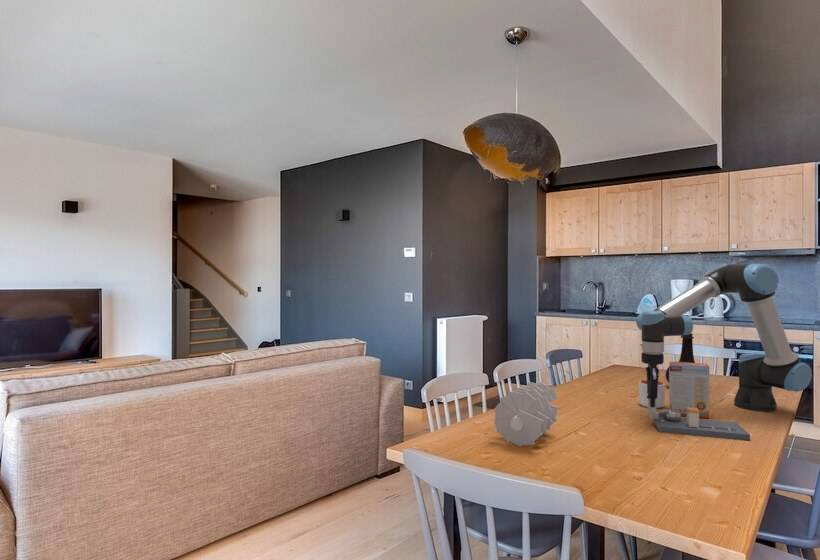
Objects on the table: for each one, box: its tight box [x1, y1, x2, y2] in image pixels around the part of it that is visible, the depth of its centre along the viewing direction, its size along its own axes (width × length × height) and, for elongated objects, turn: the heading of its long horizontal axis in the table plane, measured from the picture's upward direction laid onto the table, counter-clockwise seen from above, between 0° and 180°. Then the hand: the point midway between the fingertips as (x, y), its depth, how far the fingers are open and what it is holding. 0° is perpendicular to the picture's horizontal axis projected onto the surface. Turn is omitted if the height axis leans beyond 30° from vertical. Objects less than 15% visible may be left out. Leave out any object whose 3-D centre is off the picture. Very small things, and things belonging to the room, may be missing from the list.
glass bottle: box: [665, 332, 696, 384], centre depth 248 cm, size 18×18×28 cm
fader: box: [686, 407, 700, 428], centre depth 178 cm, size 3×4×6 cm
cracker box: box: [668, 361, 710, 419], centre depth 201 cm, size 14×6×21 cm, turn 65°
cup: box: [638, 379, 666, 409], centre depth 215 cm, size 10×10×10 cm
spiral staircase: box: [493, 381, 559, 447], centre depth 170 cm, size 18×18×25 cm
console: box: [651, 416, 751, 441], centre depth 181 cm, size 28×16×2 cm, turn 72°
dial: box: [650, 408, 682, 422], centre depth 186 cm, size 11×6×3 cm, turn 99°
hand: (652, 415), depth 187 cm, fingers closed
